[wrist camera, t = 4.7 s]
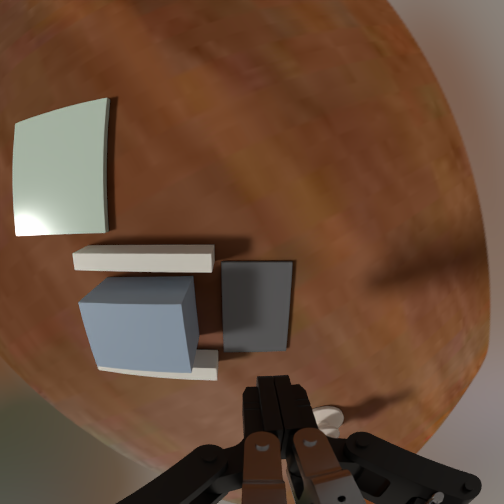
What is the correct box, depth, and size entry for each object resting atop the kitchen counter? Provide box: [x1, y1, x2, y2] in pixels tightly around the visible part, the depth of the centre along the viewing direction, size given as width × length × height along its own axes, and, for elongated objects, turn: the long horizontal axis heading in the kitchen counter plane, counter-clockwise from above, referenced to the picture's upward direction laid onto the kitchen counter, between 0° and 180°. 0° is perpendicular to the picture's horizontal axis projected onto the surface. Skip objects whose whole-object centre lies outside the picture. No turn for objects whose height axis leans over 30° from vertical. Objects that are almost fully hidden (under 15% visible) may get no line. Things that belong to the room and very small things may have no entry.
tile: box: [13, 98, 110, 236], centre depth 17 cm, size 10×10×1 cm
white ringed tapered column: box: [312, 406, 344, 438], centre depth 20 cm, size 5×5×10 cm
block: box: [78, 276, 199, 373], centre depth 18 cm, size 7×5×5 cm
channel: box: [72, 245, 292, 380], centre depth 19 cm, size 16×10×2 cm, turn 89°
